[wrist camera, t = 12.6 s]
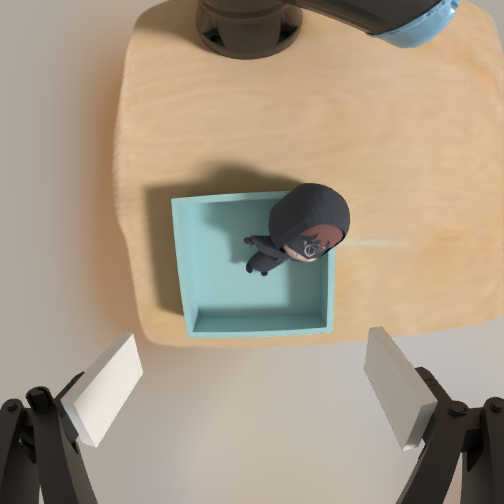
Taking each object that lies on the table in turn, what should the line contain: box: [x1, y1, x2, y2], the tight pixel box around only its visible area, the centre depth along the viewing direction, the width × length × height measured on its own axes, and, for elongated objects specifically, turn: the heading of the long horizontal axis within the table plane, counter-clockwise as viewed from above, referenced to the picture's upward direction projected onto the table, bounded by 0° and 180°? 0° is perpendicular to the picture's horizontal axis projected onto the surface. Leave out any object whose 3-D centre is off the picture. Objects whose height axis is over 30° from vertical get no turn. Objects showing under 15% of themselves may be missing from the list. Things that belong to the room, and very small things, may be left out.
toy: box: [244, 183, 350, 276], centre depth 32 cm, size 9×8×15 cm
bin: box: [171, 191, 335, 338], centre depth 36 cm, size 18×19×6 cm
